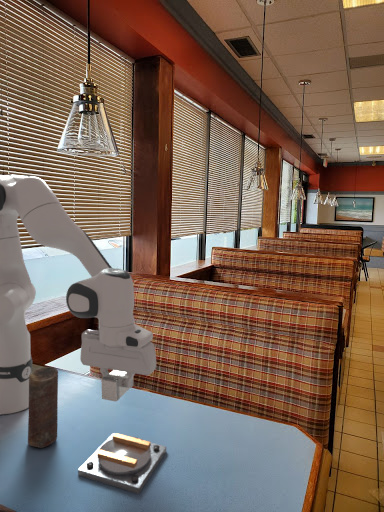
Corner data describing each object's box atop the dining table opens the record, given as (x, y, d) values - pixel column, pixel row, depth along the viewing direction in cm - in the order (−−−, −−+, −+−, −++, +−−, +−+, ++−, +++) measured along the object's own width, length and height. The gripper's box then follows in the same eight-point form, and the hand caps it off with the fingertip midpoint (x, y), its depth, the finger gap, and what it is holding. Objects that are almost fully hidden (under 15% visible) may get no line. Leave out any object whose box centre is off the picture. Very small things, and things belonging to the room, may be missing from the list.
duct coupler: (101, 398, 95) (101, 379, 94) (119, 382, 103) (119, 364, 102) (116, 401, 93) (116, 381, 93) (133, 385, 102) (133, 366, 101)
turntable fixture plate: (78, 475, 91) (78, 458, 90) (112, 437, 106) (113, 423, 105) (138, 493, 86) (138, 476, 85) (166, 451, 101) (166, 437, 100)
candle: (63, 438, 105) (63, 369, 102) (45, 454, 98) (44, 380, 95) (41, 432, 107) (40, 364, 104) (21, 447, 100) (20, 374, 98)
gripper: (74, 332, 96) (76, 384, 98) (147, 342, 90) (148, 397, 92) (88, 325, 102) (90, 373, 104) (158, 333, 96) (158, 385, 98)
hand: (117, 385), depth 98 cm, fingers closed on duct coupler, 4 cm apart
